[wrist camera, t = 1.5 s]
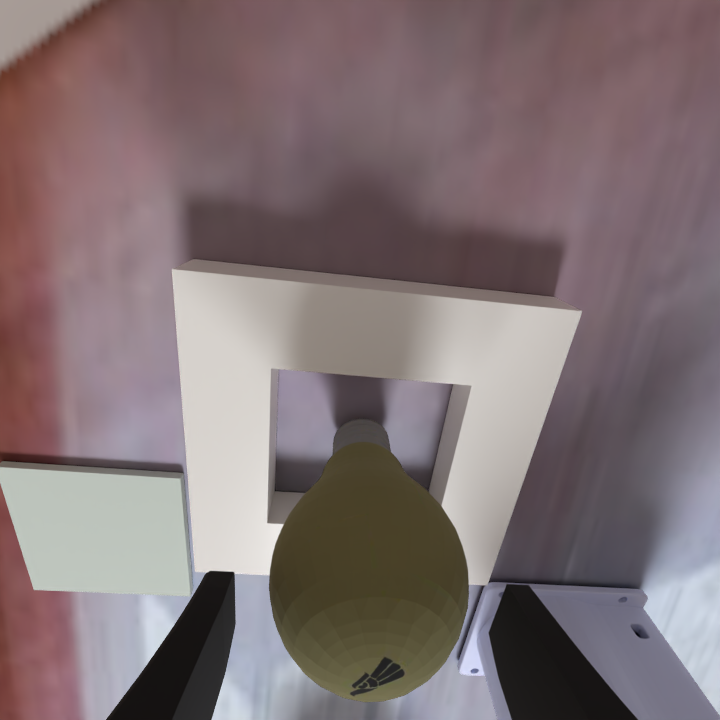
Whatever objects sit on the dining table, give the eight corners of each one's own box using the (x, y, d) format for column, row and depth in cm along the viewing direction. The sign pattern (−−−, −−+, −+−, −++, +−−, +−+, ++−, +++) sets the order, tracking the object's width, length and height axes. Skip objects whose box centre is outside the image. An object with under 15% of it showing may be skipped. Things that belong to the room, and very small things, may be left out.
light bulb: (326, 357, 16) (302, 572, 7) (443, 403, 17) (551, 641, 8) (280, 458, 18) (216, 728, 9) (388, 494, 19) (427, 767, 10)
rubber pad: (183, 473, 18) (180, 478, 18) (193, 589, 22) (190, 596, 21) (2, 460, 18) (-5, 466, 17) (39, 582, 21) (34, 589, 21)
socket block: (554, 296, 16) (582, 311, 14) (474, 551, 21) (487, 585, 19) (193, 259, 15) (171, 269, 13) (208, 536, 20) (195, 571, 18)
